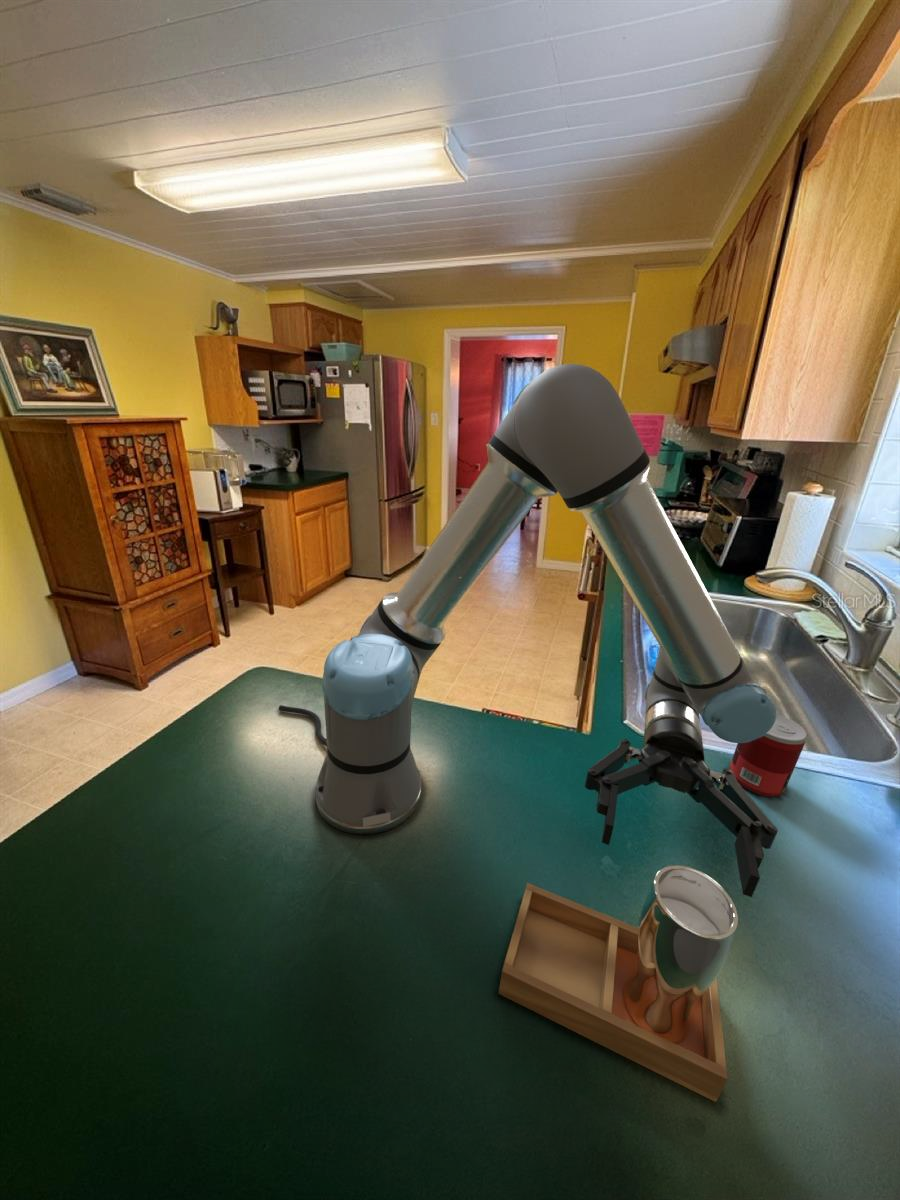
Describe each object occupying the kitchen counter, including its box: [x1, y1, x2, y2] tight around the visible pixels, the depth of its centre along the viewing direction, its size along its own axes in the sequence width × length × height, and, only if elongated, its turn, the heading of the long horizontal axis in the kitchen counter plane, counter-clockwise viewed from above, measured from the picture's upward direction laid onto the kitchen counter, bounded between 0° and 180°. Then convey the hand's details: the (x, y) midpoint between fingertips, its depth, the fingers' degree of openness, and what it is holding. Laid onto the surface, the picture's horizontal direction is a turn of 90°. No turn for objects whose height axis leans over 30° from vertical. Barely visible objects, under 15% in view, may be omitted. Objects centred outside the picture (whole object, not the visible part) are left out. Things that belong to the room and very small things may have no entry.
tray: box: [498, 882, 729, 1103], centre depth 47 cm, size 10×19×4 cm, turn 67°
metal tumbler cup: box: [624, 864, 739, 1043], centre depth 43 cm, size 7×7×15 cm
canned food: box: [729, 713, 808, 797], centre depth 75 cm, size 8×8×11 cm
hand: (676, 859), depth 48 cm, fingers open, 13 cm apart
